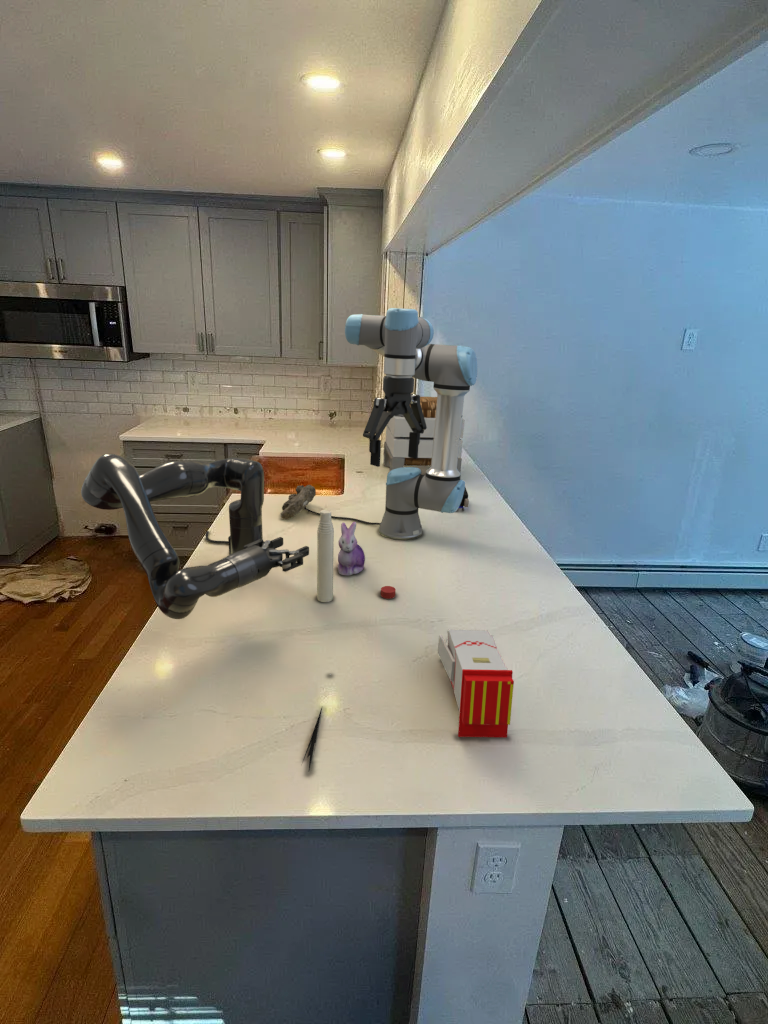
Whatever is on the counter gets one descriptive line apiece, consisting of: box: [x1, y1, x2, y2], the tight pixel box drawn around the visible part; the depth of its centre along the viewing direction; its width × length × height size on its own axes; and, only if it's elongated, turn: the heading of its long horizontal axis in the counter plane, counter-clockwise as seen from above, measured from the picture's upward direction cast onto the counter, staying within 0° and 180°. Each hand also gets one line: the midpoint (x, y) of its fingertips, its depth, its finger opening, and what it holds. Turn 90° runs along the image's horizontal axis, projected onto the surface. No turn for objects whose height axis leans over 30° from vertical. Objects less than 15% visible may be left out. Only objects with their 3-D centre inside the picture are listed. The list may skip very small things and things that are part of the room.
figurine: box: [337, 521, 366, 576], centre depth 168 cm, size 9×10×15 cm
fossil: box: [280, 484, 317, 520], centre depth 215 cm, size 22×10×15 cm
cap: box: [380, 585, 397, 600], centre depth 157 cm, size 4×4×2 cm
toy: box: [437, 628, 515, 738], centre depth 117 cm, size 12×13×30 cm
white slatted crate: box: [383, 396, 465, 474], centre depth 268 cm, size 34×33×41 cm
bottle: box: [316, 509, 335, 603], centre depth 149 cm, size 4×4×25 cm
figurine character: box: [455, 486, 470, 512], centre depth 229 cm, size 7×8×15 cm
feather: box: [301, 673, 332, 771], centre depth 108 cm, size 2×28×2 cm
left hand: (295, 545), depth 138 cm, fingers open, 8 cm apart
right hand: (394, 461), depth 144 cm, fingers open, 13 cm apart
